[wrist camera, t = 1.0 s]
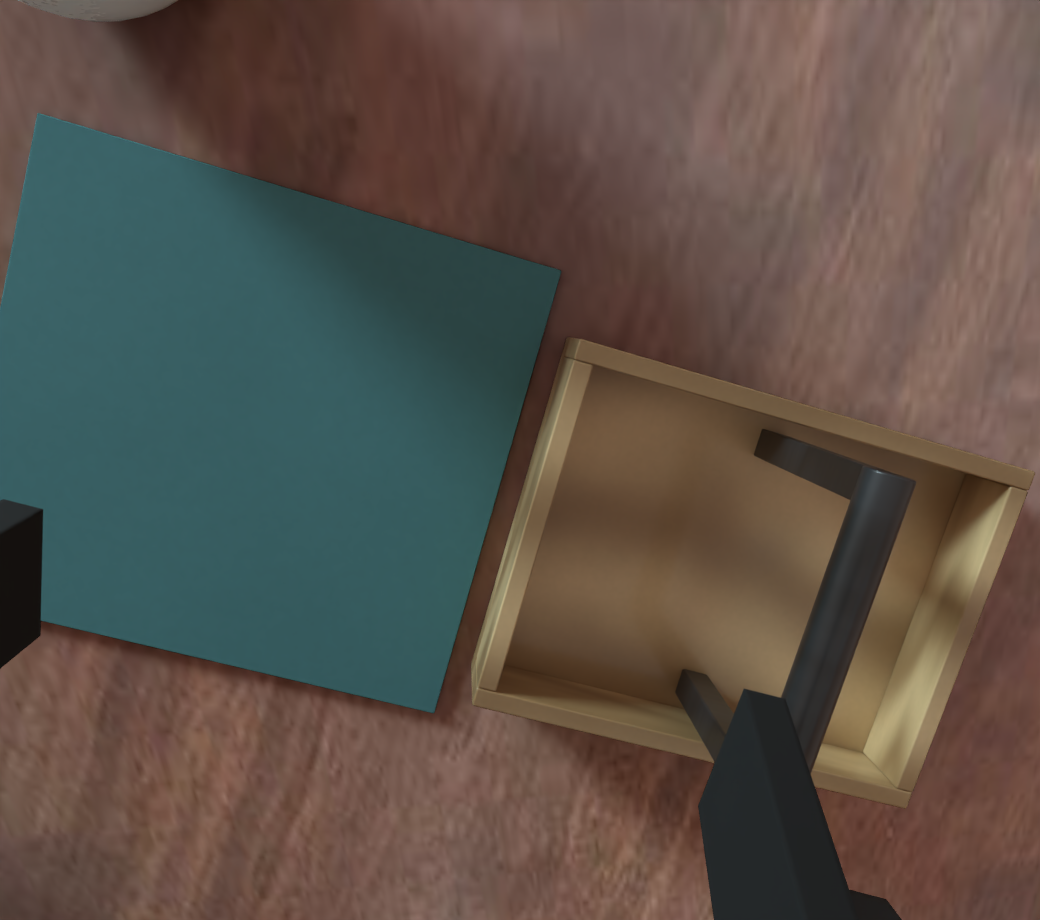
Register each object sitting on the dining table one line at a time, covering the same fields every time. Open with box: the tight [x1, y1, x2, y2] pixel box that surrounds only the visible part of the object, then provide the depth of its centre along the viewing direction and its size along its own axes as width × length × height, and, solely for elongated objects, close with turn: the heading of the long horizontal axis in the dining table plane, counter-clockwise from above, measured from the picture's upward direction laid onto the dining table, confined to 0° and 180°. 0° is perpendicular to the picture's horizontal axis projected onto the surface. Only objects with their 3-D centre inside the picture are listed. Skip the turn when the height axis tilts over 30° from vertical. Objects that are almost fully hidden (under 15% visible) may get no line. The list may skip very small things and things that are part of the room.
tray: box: [471, 337, 1035, 808], centre depth 31 cm, size 15×19×11 cm
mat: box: [0, 113, 561, 713], centre depth 34 cm, size 20×21×1 cm
